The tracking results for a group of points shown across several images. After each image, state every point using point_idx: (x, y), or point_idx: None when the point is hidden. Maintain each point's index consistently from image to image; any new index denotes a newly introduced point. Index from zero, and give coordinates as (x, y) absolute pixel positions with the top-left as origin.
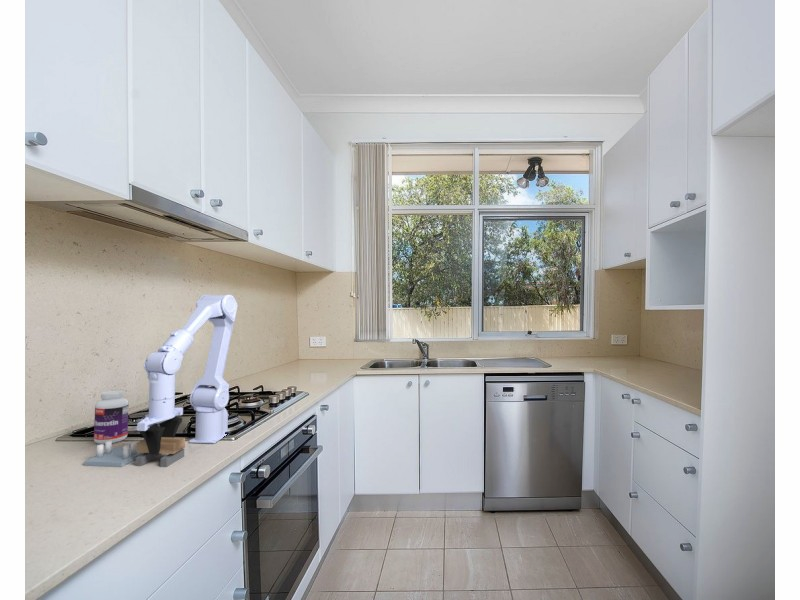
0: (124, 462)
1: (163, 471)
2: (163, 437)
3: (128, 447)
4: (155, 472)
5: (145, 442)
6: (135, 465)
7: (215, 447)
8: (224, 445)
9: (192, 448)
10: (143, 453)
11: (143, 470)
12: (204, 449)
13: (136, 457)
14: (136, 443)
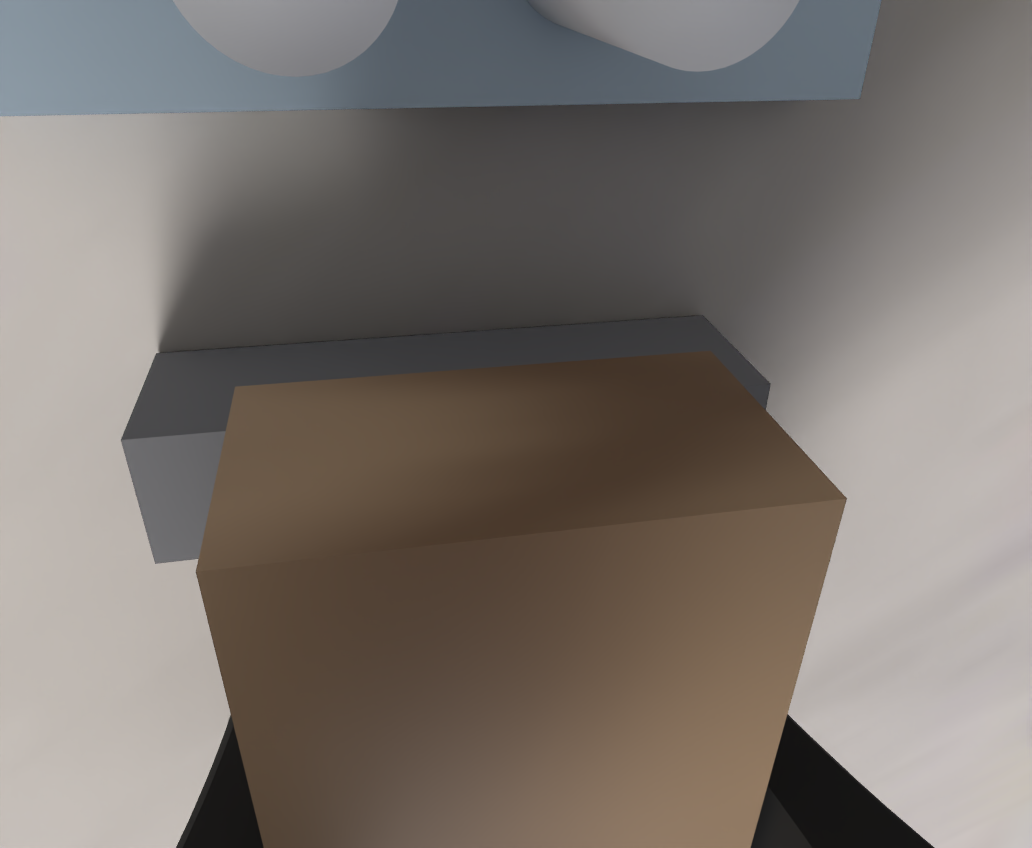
0: (75, 107)
1: (116, 841)
2: (736, 839)
3: (274, 62)
4: (48, 793)
5: (298, 775)
6: (155, 355)
7: (913, 806)
8: (959, 836)
9: (933, 626)
10: (705, 98)
11: (36, 620)
12: (867, 757)
13: (140, 445)
14: (203, 547)
